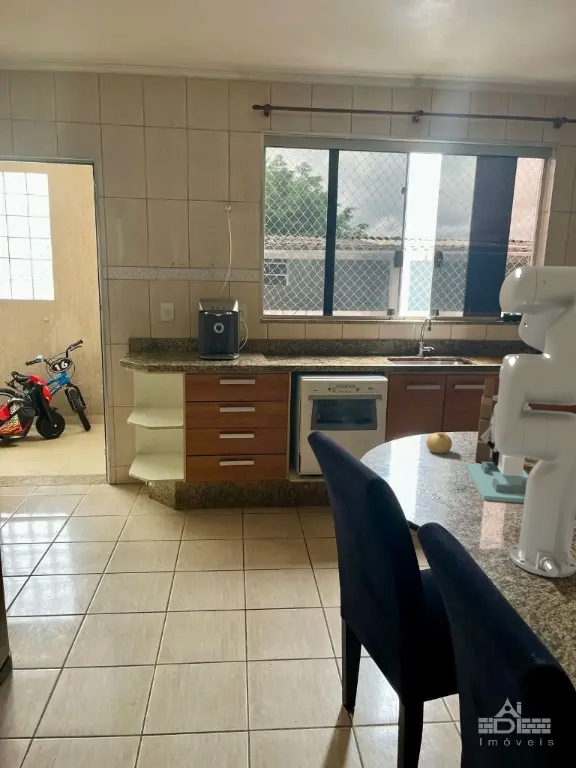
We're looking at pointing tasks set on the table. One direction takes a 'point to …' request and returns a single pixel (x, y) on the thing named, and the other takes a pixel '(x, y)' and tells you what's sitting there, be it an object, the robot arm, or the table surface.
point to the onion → (439, 443)
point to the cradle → (497, 483)
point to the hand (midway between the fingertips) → (505, 464)
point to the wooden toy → (485, 422)
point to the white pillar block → (510, 464)
